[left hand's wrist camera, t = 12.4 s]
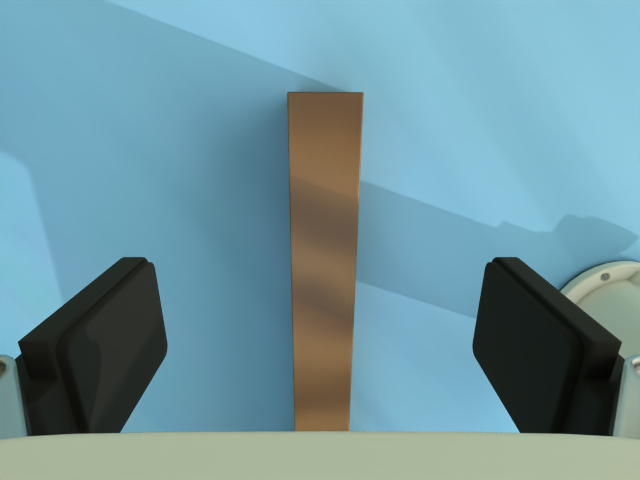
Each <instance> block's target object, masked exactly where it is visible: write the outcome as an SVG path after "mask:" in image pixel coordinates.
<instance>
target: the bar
mask: <svg viewBox="0 0 640 480" xmlns="http://www.w3.org/2000/svg"><path fill="white" fill-rule="evenodd" d="M287 96H288V142H289V188H290V234H291V281H292V327H293V373H294V419H295V431H349V417H350V394H351V371H352V348H353V325H354V303H355V280H356V257H357V234H358V211H359V188H360V165H361V142H362V119H363V96H364V94H363V92H288V93H287Z"/></svg>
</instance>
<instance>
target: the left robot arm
mask: <svg viewBox="0 0 640 480" xmlns="http://www.w3.org/2000/svg"><path fill="white" fill-rule="evenodd" d="M18 344H19V347H20V350H21V353H22V354H21V355H19V356H18V357H17V358H16V359H15V360H14V358H13V357H10V356H8V355H0V480H640V263H639V262H634V261H617V262H611V263H606V264H603V265H600V266H597V267H594V268H592V269H590V270H588V271H586V272H584V273H582V274H580V275H579V276H577V277H576V278H574V279H573V280H572V281H570V282H569V283H568V284H567V285H566V286H565V287H564V288H563V289H562V290H561V291H559V290H557V289H556V288H555V287H554V286H552V285H551V284H550V283H549V282H547V281H546V280H545V279H544V278H542V277H541V276H540V275H539V274H538V273H536V272H535V271H534V270H533V269H531V268H530V267H529V266H528V265H526V264H525V263H524V262H523V261H521V260H520V259H519V258H517V257H496V258H494V259H493V261H492V262H489V263H487V265H486V267H485V272H484V278H483V284H482V290H481V296H480V302H479V308H478V314H477V320H476V326H475V332H474V338H473V353H474V356H475V358H476V360H477V361H478V363H479V365H480V366H481V368H482V370H483V371H484V373H485V375H486V376H487V378H488V380H489V381H490V383H491V385H492V386H493V388H494V390H495V391H496V393H497V395H498V396H499V398H500V400H501V401H502V403H503V405H504V407H505V408H506V410H507V412H508V413H509V415H510V417H511V418H512V420H513V422H514V423H515V425H516V427H517V428H518V430H519V432H520V433H489V432H363V431H277V432H151V433H120V432H121V430H122V428H123V427H124V425H125V423H126V422H127V420H128V418H129V417H130V415H131V413H132V412H133V410H134V408H135V407H136V405H137V403H138V401H139V400H140V398H141V396H142V395H143V393H144V391H145V390H146V388H147V386H148V385H149V383H150V381H151V380H152V378H153V376H154V375H155V373H156V371H157V370H158V368H159V366H160V365H161V363H162V361H163V360H164V358H165V356H166V353H167V338H166V332H165V326H164V320H163V314H162V308H161V302H160V296H159V290H158V284H157V278H156V272H155V267H154V265H153V263H151V262H148V261H147V259H146V258H144V257H123V258H121V259H120V260H119V261H117V262H116V263H115V264H114V265H112V266H111V267H110V268H109V269H107V270H106V271H105V272H104V273H102V274H101V275H100V276H99V277H98V278H96V279H95V280H94V281H93V282H91V283H90V284H89V285H88V286H86V287H85V288H84V289H83V290H81V291H80V292H79V293H78V294H77V295H75V296H74V297H73V298H72V299H70V300H69V301H68V302H67V303H65V304H64V305H63V306H62V307H60V308H59V309H58V310H57V311H56V312H54V313H53V314H52V315H51V316H49V317H48V318H47V319H46V320H44V321H43V322H42V323H41V324H39V325H38V326H37V327H36V328H35V329H33V330H32V331H31V332H30V333H28V334H27V335H26V336H25V337H23V338H22V339H21V340H20V341H18Z"/></svg>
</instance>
